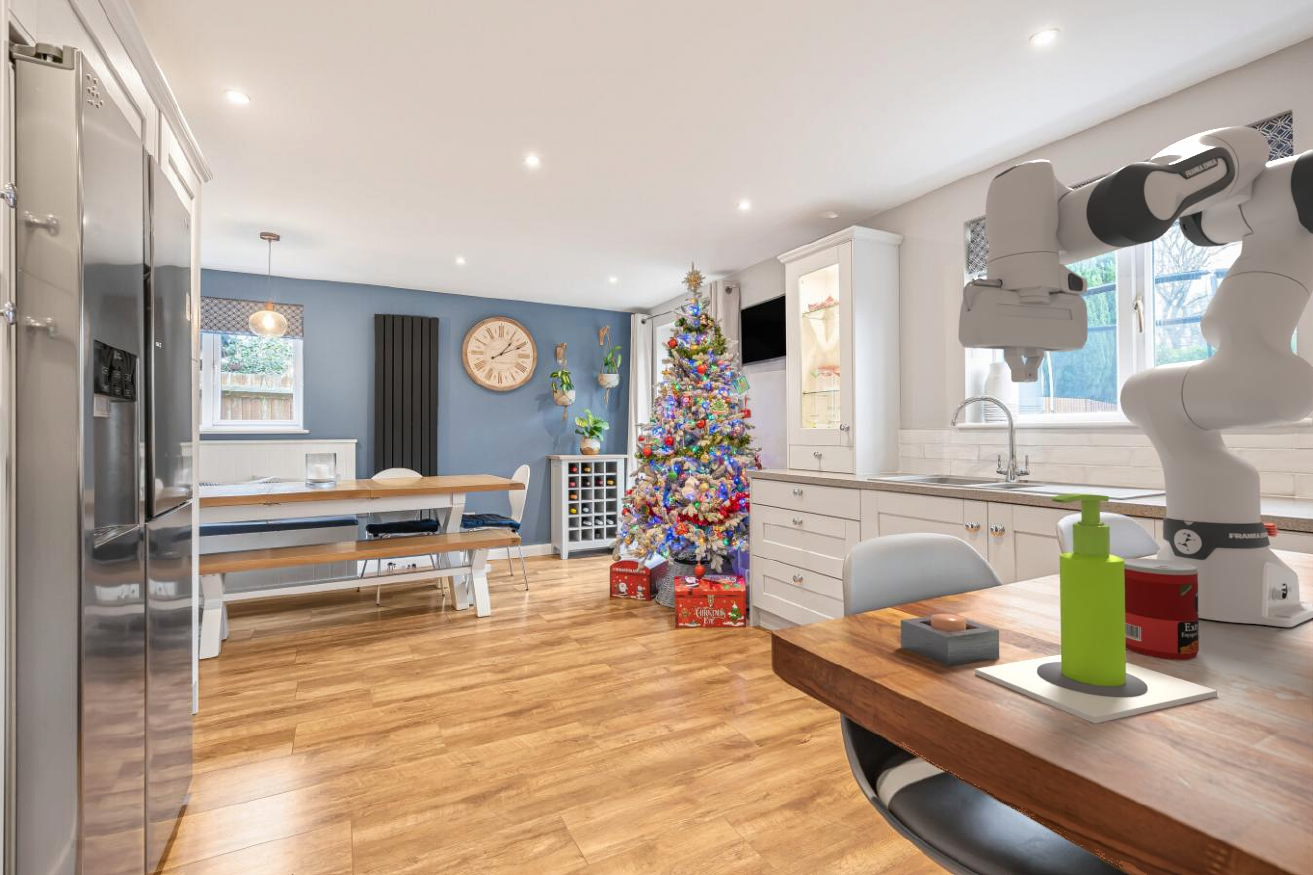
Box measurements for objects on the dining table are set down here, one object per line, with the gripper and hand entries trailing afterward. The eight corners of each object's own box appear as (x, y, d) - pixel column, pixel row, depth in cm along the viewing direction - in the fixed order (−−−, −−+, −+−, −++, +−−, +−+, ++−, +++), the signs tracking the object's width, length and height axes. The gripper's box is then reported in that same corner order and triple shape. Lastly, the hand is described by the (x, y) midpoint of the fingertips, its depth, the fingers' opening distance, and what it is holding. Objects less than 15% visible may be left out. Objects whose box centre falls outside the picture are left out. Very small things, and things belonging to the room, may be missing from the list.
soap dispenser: (1040, 668, 73) (1038, 492, 73) (1097, 666, 74) (1095, 491, 74) (1078, 687, 67) (1075, 496, 68) (1140, 685, 68) (1137, 495, 68)
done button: (948, 635, 84) (948, 612, 84) (973, 644, 80) (973, 620, 80) (924, 639, 83) (924, 615, 83) (948, 648, 79) (947, 623, 79)
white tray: (1086, 654, 80) (1086, 648, 80) (1217, 696, 67) (1217, 688, 67) (975, 674, 74) (975, 667, 74) (1094, 723, 61) (1094, 715, 61)
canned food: (1197, 665, 76) (1195, 572, 76) (1115, 651, 82) (1113, 564, 82) (1201, 649, 82) (1199, 562, 82) (1123, 637, 87) (1122, 556, 87)
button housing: (949, 639, 87) (948, 613, 87) (999, 658, 79) (998, 629, 79) (901, 646, 84) (900, 619, 84) (948, 666, 76) (947, 637, 76)
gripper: (983, 270, 83) (985, 378, 83) (1096, 281, 90) (1098, 381, 90) (946, 282, 89) (948, 383, 89) (1054, 292, 96) (1056, 385, 96)
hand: (1024, 382), depth 89 cm, fingers closed
